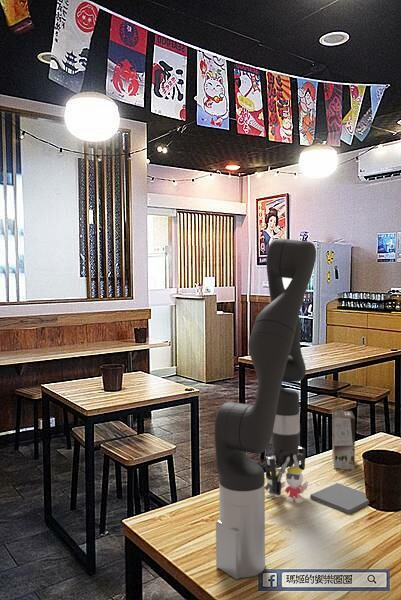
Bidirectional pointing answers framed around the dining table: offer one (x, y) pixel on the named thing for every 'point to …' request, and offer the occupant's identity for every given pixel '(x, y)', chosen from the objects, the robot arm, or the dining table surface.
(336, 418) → the coffee box
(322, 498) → the mat
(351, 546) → the dining table surface
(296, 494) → the toy figures
